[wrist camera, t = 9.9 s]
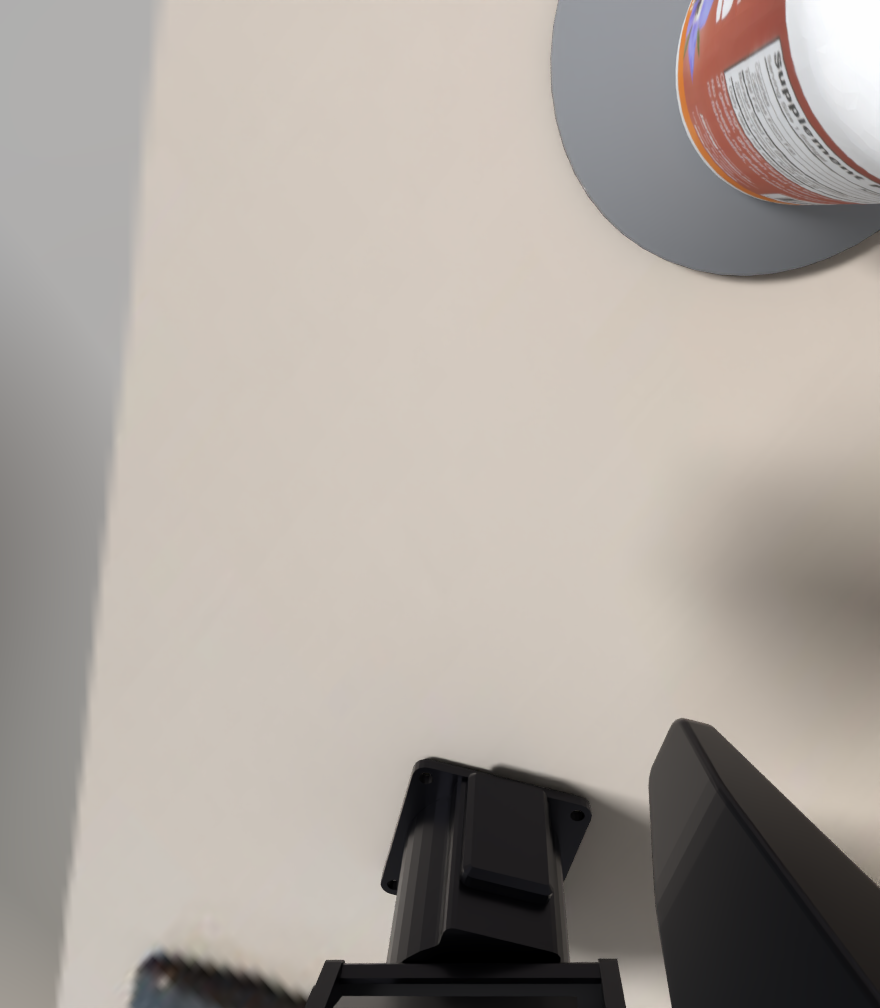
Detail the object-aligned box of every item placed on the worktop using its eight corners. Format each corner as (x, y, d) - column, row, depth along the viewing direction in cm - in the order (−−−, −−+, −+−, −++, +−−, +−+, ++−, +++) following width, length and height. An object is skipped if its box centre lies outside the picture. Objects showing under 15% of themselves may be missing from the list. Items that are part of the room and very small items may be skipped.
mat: (873, 315, 19) (883, 319, 18) (502, 219, 19) (502, 219, 18) (1099, -165, 15) (1121, -178, 14) (632, -292, 15) (637, -312, 14)
